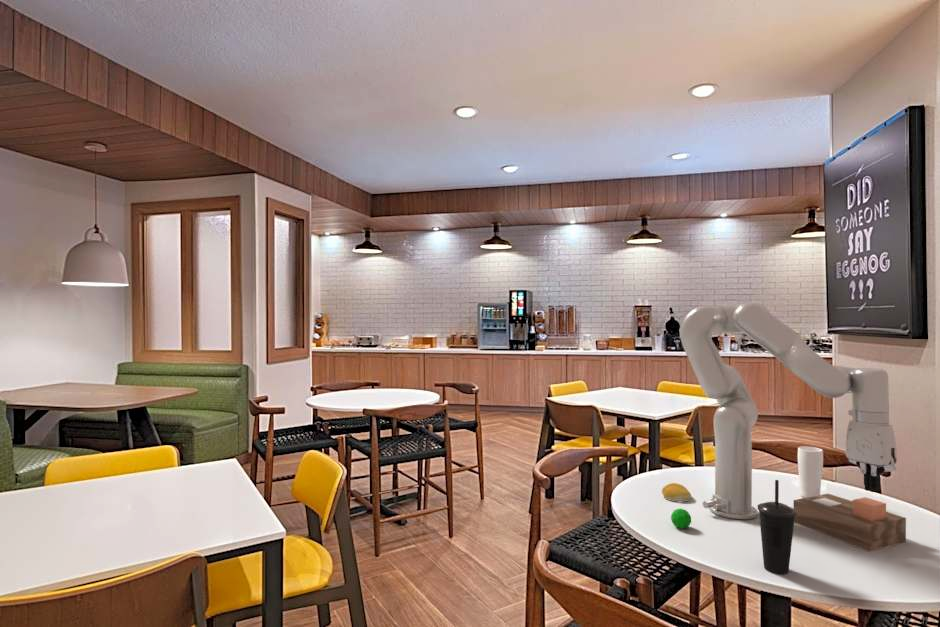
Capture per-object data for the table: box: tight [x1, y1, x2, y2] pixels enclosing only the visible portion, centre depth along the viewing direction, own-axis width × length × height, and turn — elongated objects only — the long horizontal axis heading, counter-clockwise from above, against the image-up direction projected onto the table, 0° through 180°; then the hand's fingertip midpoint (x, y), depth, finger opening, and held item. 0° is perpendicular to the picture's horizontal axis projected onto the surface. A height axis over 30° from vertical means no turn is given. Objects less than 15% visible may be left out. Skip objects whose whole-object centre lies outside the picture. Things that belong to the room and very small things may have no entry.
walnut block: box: [792, 493, 907, 552], centre depth 148 cm, size 14×20×6 cm
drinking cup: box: [757, 479, 796, 575], centre depth 126 cm, size 8×8×20 cm
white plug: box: [812, 498, 842, 507], centre depth 153 cm, size 5×5×4 cm
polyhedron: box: [670, 508, 692, 529], centre depth 151 cm, size 5×5×5 cm
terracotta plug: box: [852, 496, 887, 521], centre depth 143 cm, size 5×5×4 cm
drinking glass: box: [797, 445, 824, 498], centre depth 174 cm, size 7×7×15 cm
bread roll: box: [661, 482, 692, 502], centre depth 174 cm, size 8×9×4 cm
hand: (872, 490), depth 142 cm, fingers closed
